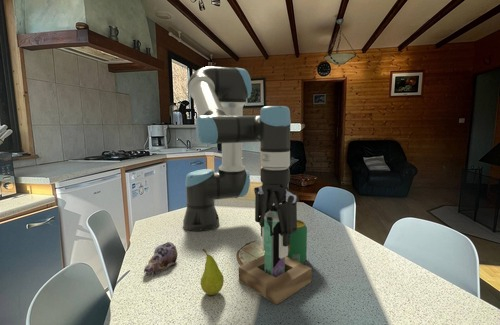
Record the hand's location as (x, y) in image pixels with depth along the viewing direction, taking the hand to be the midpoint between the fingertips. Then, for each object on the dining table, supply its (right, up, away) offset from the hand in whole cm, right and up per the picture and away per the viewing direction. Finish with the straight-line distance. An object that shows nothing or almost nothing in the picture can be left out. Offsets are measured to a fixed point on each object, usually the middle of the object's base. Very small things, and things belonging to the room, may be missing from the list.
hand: (274, 252), depth 73 cm
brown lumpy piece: (-34, -8, +9) cm, 36 cm away
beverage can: (+7, -7, +13) cm, 16 cm away
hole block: (0, -8, +1) cm, 8 cm away
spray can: (0, -7, +1) cm, 7 cm away
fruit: (-16, -9, -4) cm, 19 cm away
